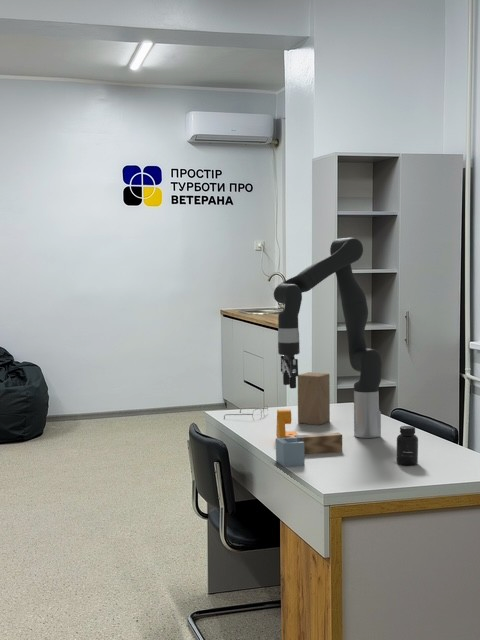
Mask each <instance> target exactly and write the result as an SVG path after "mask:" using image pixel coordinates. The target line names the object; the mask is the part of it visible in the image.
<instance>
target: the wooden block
mask: <svg viewBox="0 0 480 640" xmlns="http://www.w3.org/2000/svg"><path fill="white" fill-rule="evenodd" d="M330 385H331V384H330V373H327V372H312V371H311V372H310V371H309V372H306V373H301V374H298V376H297V423H298V424H305V425H314V426H315V425H316V426H320V425H323V424H326V423H328V422H331V421H330V420H331V419H330V417H331V413H330V412H331V411H330V407H331V406H330V405H331V403H330V401H331V398H330V390H331V388H330V387H331V386H330Z"/></svg>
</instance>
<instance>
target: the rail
mask: <svg viewBox="0 0 480 640" xmlns="http://www.w3.org/2000/svg"><path fill="white" fill-rule="evenodd" d="M294 437H297V442H304V456H305V455H319V454H334V453H343V434H341V433H340V432H329V433H328V432H326V433H325V432H324V433H312V434H311V433H310V434H298V435H294Z"/></svg>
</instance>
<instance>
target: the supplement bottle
mask: <svg viewBox="0 0 480 640" xmlns="http://www.w3.org/2000/svg"><path fill="white" fill-rule="evenodd" d="M418 462H419V438H418V436H417V435H416V427H414V426H413V425H401V426H400V427H399V434H398V435H397V437H396V463H397V464H398V465H400V466H405V467H406V466H407V467H411V466H417V465H418Z"/></svg>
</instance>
